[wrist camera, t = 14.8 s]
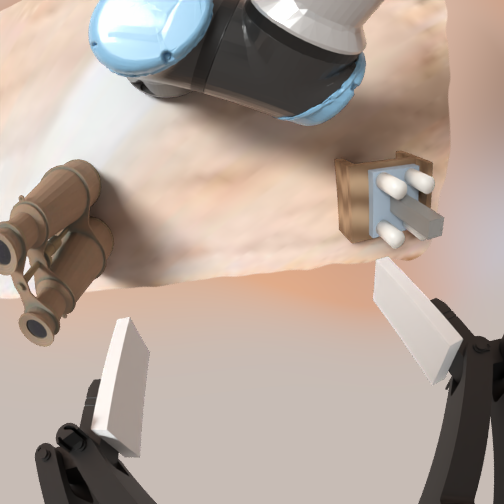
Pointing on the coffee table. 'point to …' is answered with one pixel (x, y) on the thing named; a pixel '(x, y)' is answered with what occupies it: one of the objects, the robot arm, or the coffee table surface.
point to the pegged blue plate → (401, 205)
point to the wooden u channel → (367, 192)
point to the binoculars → (55, 246)
